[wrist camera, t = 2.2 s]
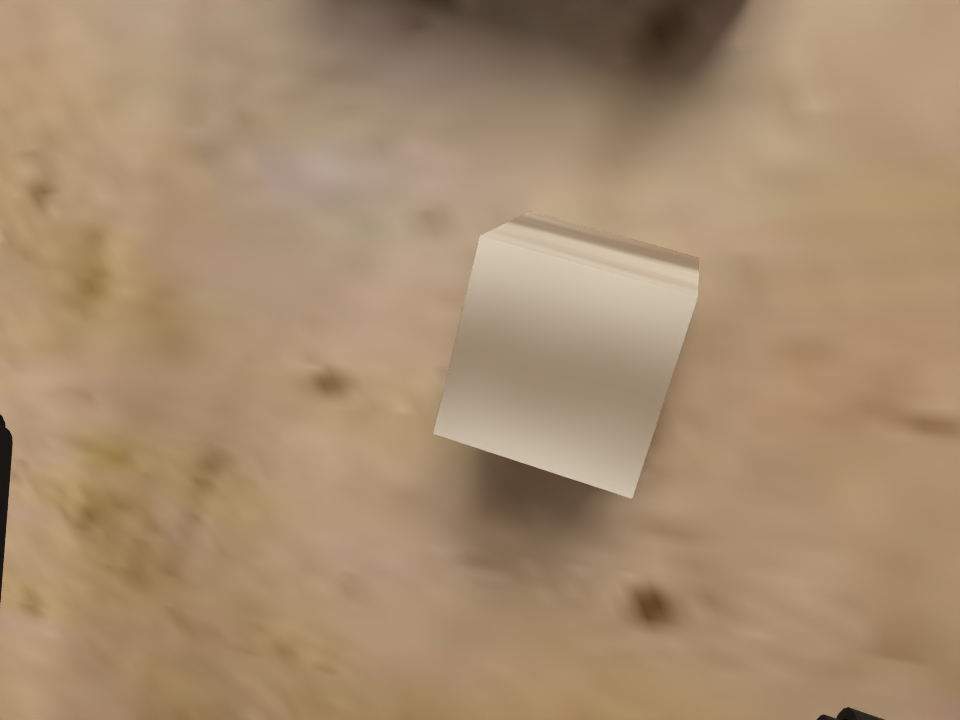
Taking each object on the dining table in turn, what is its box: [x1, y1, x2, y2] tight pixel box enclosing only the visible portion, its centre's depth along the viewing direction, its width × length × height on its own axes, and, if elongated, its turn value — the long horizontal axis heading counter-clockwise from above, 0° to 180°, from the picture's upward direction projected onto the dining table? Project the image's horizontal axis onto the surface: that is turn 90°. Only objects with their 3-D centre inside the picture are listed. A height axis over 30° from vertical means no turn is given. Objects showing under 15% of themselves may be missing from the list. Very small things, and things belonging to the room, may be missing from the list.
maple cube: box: [433, 211, 699, 499], centre depth 23 cm, size 5×5×6 cm
